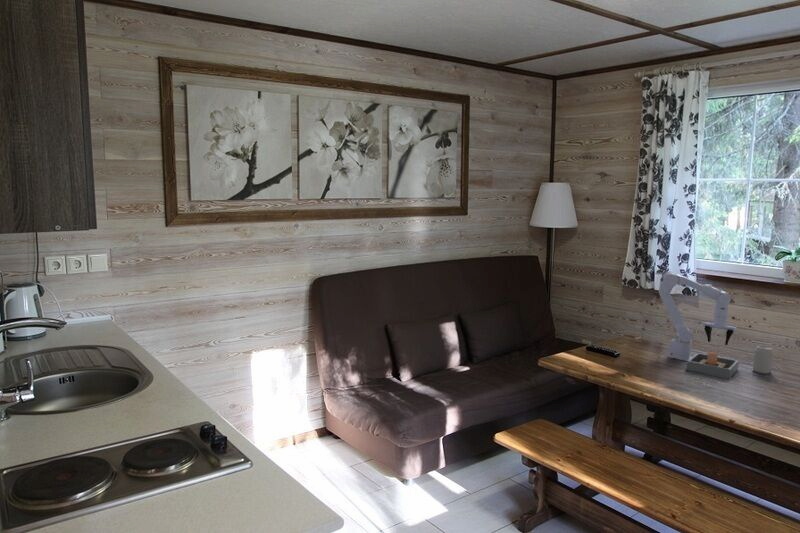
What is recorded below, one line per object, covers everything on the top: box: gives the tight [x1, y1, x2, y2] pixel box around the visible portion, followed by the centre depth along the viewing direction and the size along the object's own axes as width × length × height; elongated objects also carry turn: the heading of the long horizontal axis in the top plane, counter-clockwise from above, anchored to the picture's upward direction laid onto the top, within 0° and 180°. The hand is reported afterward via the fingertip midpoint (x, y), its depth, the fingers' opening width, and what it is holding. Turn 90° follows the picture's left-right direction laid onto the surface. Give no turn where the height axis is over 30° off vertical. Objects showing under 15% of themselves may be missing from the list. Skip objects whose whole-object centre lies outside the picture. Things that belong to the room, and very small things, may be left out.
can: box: [752, 345, 774, 375], centre depth 277 cm, size 8×8×12 cm
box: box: [686, 352, 740, 380], centre depth 278 cm, size 18×18×4 cm
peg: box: [707, 351, 718, 366], centre depth 277 cm, size 4×4×8 cm
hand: (717, 343), depth 291 cm, fingers open, 7 cm apart
